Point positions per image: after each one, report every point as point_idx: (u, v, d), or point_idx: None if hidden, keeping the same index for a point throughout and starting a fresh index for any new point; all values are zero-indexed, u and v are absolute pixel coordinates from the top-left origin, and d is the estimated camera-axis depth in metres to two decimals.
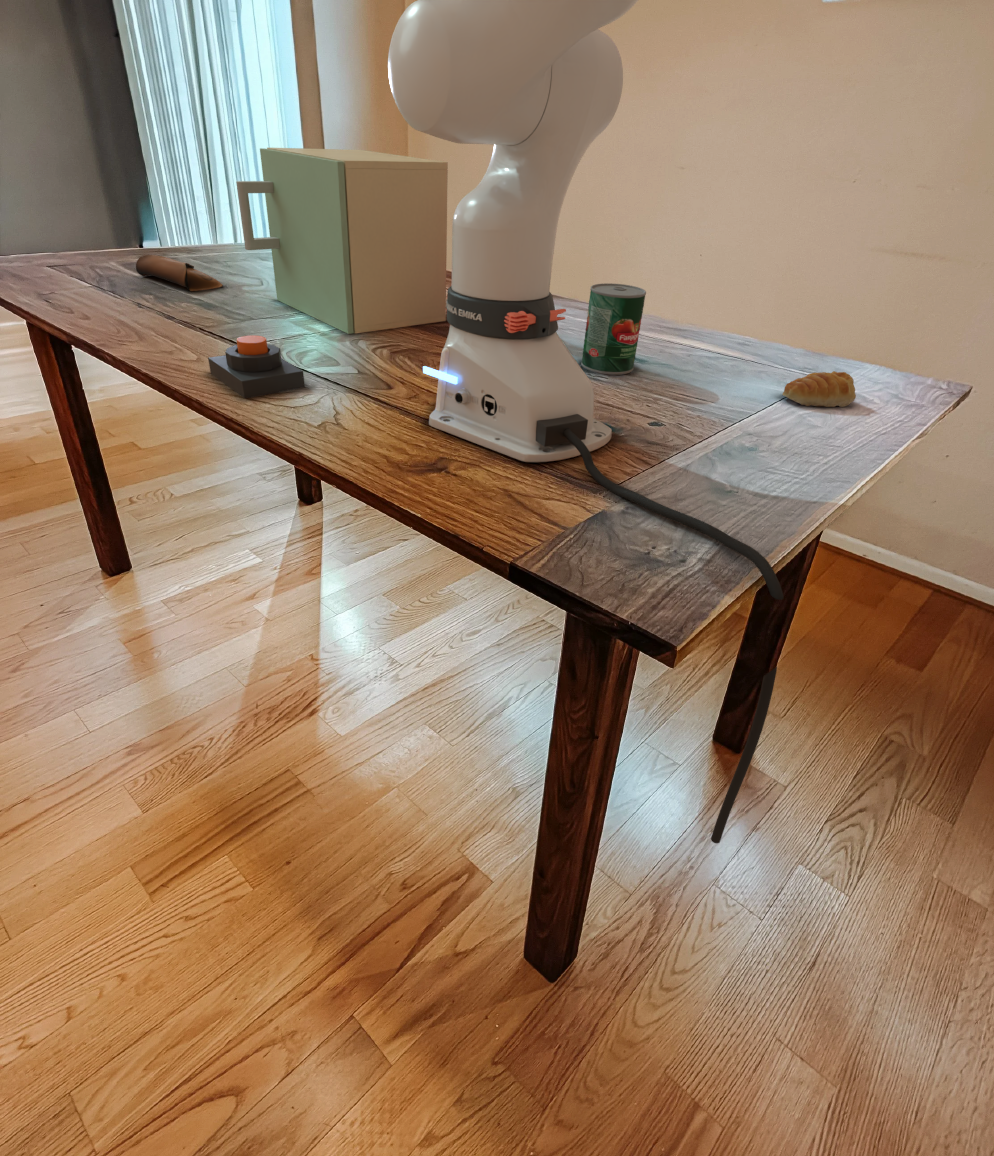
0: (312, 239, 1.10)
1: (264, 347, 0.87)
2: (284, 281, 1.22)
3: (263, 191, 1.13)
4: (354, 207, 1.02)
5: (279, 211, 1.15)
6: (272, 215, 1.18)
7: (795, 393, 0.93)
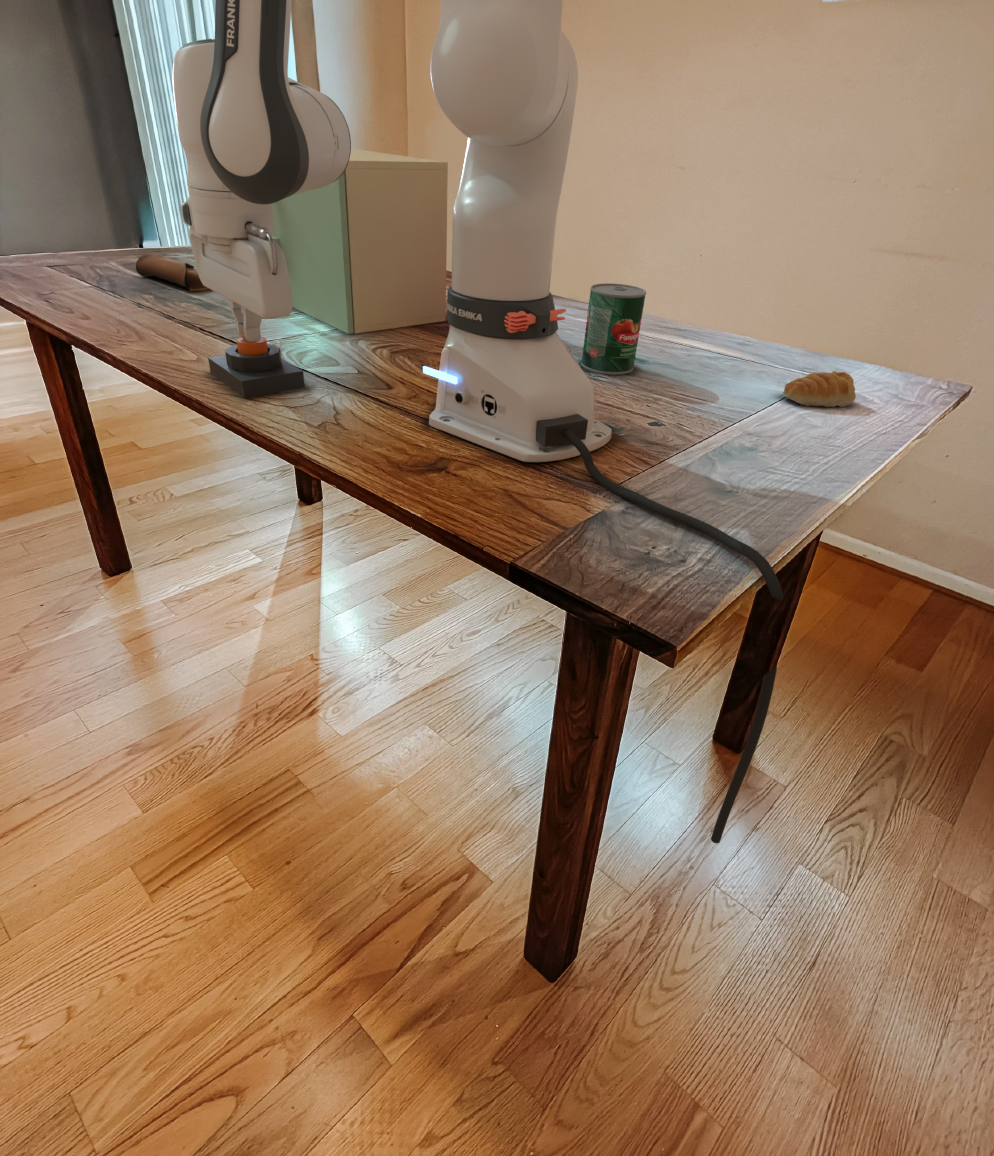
0: (312, 239, 1.10)
1: (264, 348, 0.87)
2: None
3: None
4: (354, 207, 1.02)
5: (279, 211, 1.15)
6: None
7: (795, 393, 0.93)
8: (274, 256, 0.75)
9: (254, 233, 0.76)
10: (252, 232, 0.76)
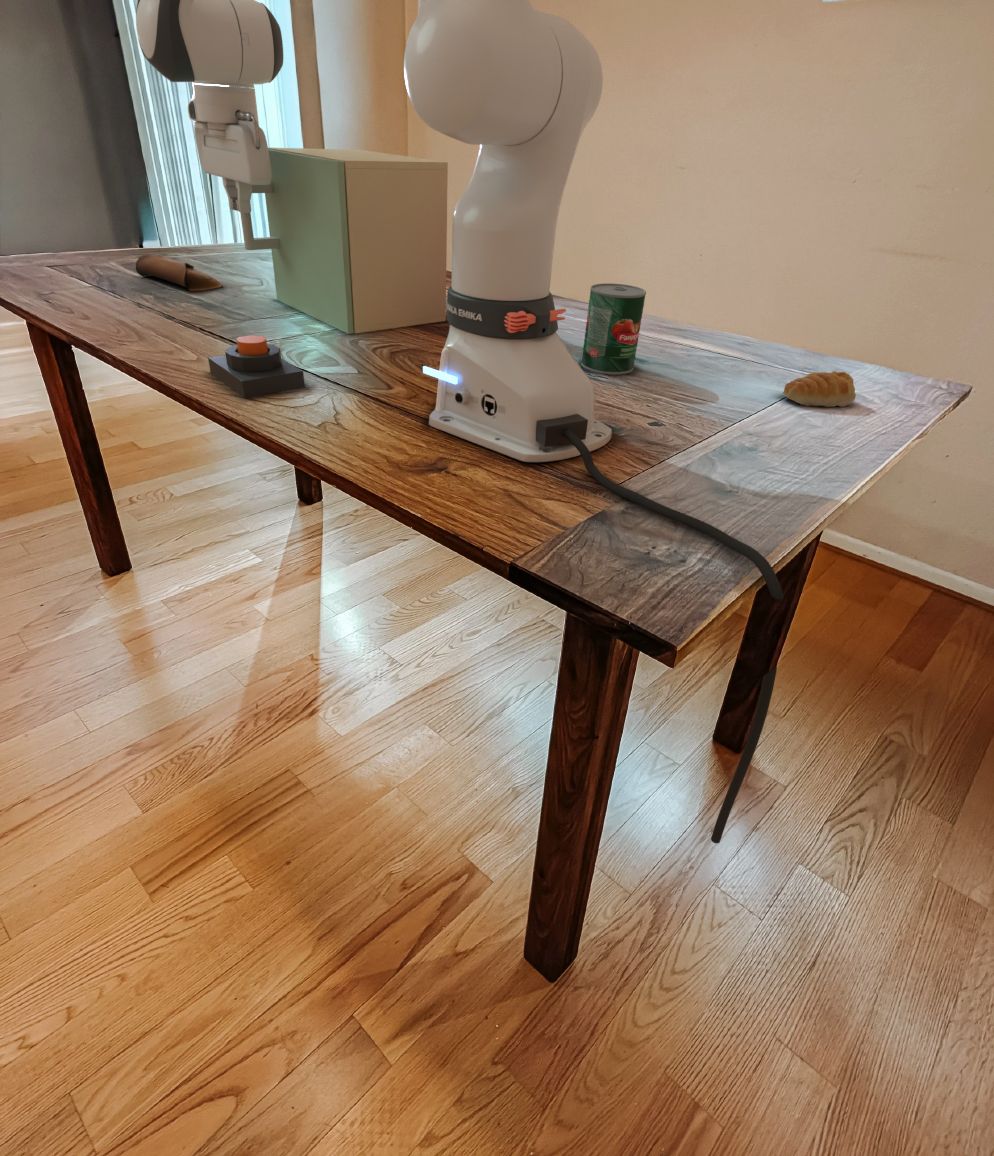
0: (312, 239, 1.10)
1: (264, 347, 0.87)
2: (284, 281, 1.22)
3: (263, 191, 1.13)
4: (354, 207, 1.02)
5: (279, 211, 1.15)
6: (271, 215, 1.18)
7: (795, 393, 0.93)
8: (257, 133, 1.01)
9: (242, 118, 1.02)
10: (241, 117, 1.02)
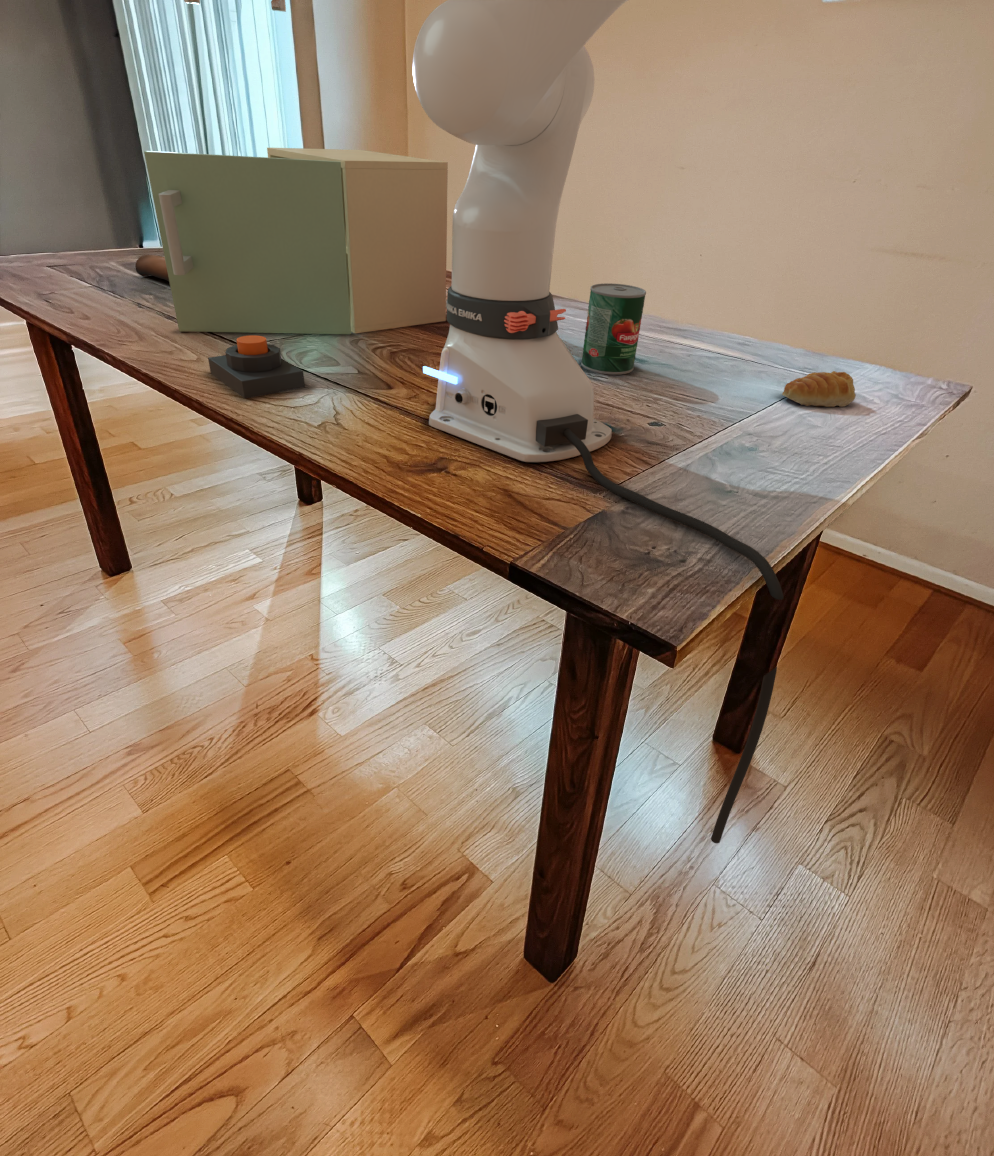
0: (278, 247, 1.02)
1: (264, 347, 0.87)
2: (201, 305, 1.05)
3: (178, 202, 0.96)
4: (354, 207, 1.02)
5: (195, 224, 0.99)
6: None
7: (795, 393, 0.93)
8: None
9: None
10: None
